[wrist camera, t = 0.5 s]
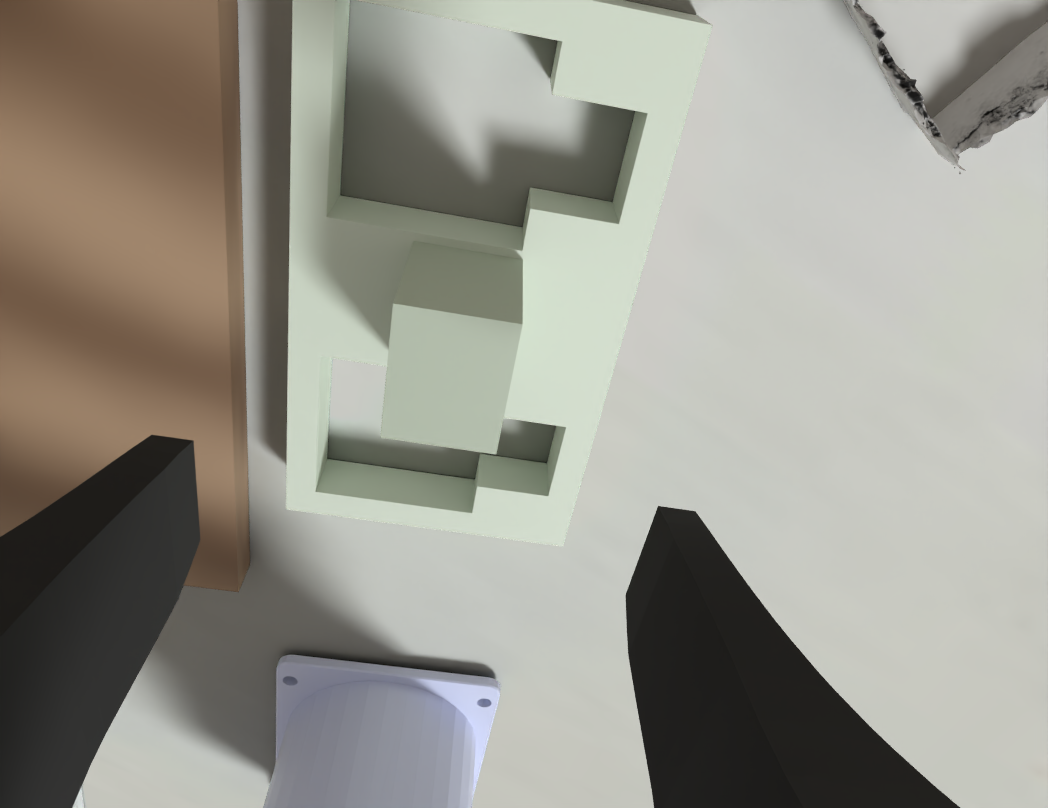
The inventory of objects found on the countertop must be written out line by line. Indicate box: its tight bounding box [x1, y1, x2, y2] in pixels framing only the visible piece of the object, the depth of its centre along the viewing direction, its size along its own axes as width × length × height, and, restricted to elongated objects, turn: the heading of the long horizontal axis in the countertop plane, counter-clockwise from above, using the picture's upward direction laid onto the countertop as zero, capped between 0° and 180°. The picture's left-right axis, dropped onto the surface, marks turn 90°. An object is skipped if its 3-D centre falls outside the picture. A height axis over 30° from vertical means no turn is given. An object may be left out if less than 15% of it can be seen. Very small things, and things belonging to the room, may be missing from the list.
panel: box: [286, 0, 713, 547], centre depth 17 cm, size 14×8×5 cm, turn 170°
